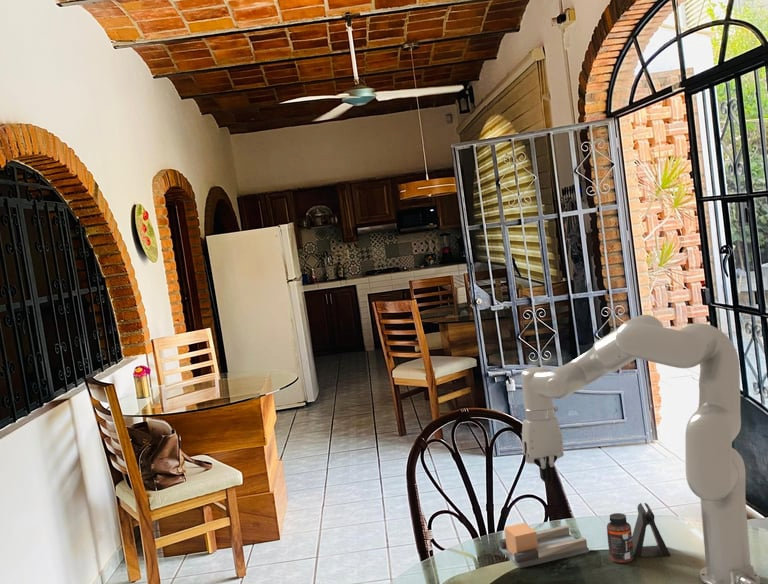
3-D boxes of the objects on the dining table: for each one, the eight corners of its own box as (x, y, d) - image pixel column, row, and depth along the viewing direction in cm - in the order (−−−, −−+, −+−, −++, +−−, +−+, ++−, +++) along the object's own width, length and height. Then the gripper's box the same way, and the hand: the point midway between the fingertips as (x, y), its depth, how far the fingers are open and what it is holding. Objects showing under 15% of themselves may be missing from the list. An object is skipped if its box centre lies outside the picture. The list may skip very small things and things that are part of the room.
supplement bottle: (635, 563, 184) (631, 519, 184) (610, 564, 185) (606, 520, 185) (632, 553, 190) (628, 510, 189) (608, 554, 191) (604, 511, 191)
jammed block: (538, 553, 194) (536, 531, 193) (517, 558, 192) (515, 536, 192) (527, 544, 200) (524, 522, 200) (506, 548, 199) (504, 527, 199)
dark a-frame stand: (633, 558, 187) (629, 512, 187) (629, 548, 193) (625, 503, 193) (670, 556, 186) (666, 510, 185) (664, 546, 192) (660, 501, 191)
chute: (589, 551, 194) (588, 540, 194) (519, 568, 189) (518, 556, 189) (565, 534, 206) (564, 524, 206) (499, 549, 202) (498, 538, 202)
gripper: (558, 406, 202) (565, 472, 203) (508, 416, 198) (515, 482, 199) (571, 411, 194) (579, 479, 195) (519, 421, 191) (527, 490, 192)
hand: (547, 481), depth 197 cm, fingers closed
